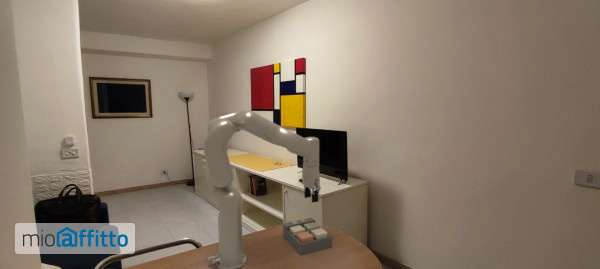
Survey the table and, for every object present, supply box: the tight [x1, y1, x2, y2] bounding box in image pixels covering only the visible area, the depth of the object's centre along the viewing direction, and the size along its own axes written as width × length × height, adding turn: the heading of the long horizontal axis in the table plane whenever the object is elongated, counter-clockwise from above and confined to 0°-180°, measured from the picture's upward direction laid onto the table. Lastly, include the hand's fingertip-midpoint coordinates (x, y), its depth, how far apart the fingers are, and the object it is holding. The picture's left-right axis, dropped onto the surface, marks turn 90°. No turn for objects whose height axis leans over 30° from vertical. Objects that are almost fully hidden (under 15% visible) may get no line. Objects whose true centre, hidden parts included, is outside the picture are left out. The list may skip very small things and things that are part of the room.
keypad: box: [282, 217, 333, 256], centre depth 136 cm, size 16×19×7 cm
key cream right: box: [311, 227, 328, 239], centre depth 132 cm, size 6×6×2 cm
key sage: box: [304, 222, 320, 233], centre depth 139 cm, size 6×6×2 cm
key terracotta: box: [297, 231, 313, 243], centre depth 129 cm, size 6×6×2 cm
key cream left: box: [290, 225, 305, 236], centre depth 136 cm, size 6×6×2 cm
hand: (311, 199), depth 138 cm, fingers open, 6 cm apart
